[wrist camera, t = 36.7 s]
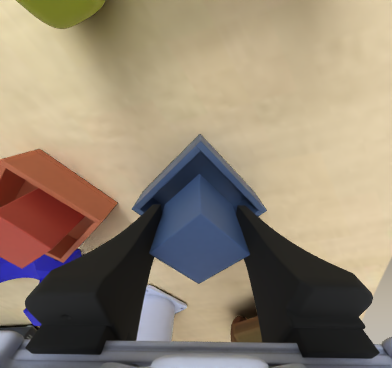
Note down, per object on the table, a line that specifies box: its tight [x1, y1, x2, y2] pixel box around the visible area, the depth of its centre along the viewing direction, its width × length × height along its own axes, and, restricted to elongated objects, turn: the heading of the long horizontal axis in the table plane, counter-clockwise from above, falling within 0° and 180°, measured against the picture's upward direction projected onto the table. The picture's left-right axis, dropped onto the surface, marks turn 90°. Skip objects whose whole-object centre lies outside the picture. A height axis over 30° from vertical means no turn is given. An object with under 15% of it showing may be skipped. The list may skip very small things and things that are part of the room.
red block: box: [0, 188, 85, 269], centre depth 13 cm, size 4×4×5 cm
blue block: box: [149, 174, 250, 284], centre depth 11 cm, size 4×4×5 cm
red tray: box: [0, 149, 117, 263], centre depth 15 cm, size 8×8×3 cm
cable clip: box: [0, 249, 82, 326], centre depth 17 cm, size 12×4×6 cm, turn 81°
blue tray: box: [132, 134, 267, 216], centre depth 14 cm, size 8×8×3 cm
